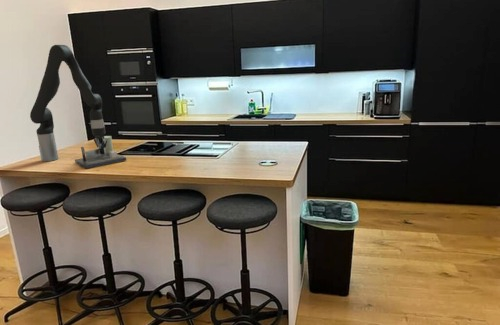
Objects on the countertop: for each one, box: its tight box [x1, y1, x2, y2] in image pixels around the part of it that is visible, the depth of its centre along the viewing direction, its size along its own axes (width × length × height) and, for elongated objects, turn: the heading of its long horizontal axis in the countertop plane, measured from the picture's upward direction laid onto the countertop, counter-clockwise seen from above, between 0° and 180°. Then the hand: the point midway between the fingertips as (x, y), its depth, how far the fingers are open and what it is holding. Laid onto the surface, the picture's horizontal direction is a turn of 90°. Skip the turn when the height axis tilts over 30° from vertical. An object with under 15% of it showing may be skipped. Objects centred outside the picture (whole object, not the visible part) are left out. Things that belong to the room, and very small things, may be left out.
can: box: [104, 135, 114, 154], centre depth 236 cm, size 9×9×12 cm
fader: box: [109, 150, 118, 158], centre depth 217 cm, size 3×4×4 cm
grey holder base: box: [74, 146, 127, 170], centre depth 217 cm, size 24×20×10 cm
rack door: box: [85, 148, 106, 159], centre depth 222 cm, size 13×2×4 cm, turn 146°
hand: (102, 154), depth 222 cm, fingers closed
